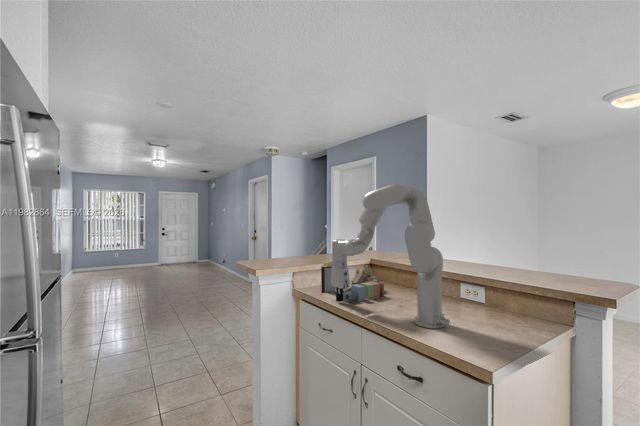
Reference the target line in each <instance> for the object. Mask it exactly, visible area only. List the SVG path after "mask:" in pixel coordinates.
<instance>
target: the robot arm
mask: <svg viewBox="0 0 640 426" xmlns="http://www.w3.org/2000/svg"><path fill="white" fill-rule="evenodd" d="M394 205H407V206H408V217H409V221H410V223H409V224H408V225H407V226H406V228H405V229H404V230H405V231H404V240H405V244H406V245H405V246H406V250H407V255H408V258H409V259H408V260H409V263H410V265H411V267H412V268H413V270H415V272H417V278H416V279H417V281H416V284H417V286H416V289H417V290H416V292H417V293H416V296H417V297H416V300H417V301H416V302H417V303H416V304H417V305H416V306H417V311H416V312H417V314H416V315H417V316H416V315H415V317H414V318H413V323H414V324H415V325H417V326H419V327H422V328H426V329H442V328H445V327H449V326H450V323H451V319H449V318H446V317H445V313H443V309H442V308H443V303H442V302H443V299H442V297H443V295H442V294H443V293H442V292H443V291H442V289H443V285H442V284H443V282H442V281H443V268H444V266H443V265H444V257H443V254H442V252H441V250H440V249H438V248H436V247H434V246H432V243H431V242H432V241H433V240H434V239H435V236H436V231H435V228H434V223H433V218H432V215H431V211H430V207H429V202H428V198H427V197H426V195H425V193H424V192H423V190H421V189H419V188H418V187H415V186H411V185H408V184H402V183H392V184H389V185H386V186H383V187H379V188H377V189H374V190H371V191H369V192H367V193H366V194H365V195H364V196H363V199H362V206H363V208H364V209H363V211H362V212H361V214H360V216H359V218H358V221H359V224H360V225H361V226H360V227H361V228H360V231H359V233H358V235H357V237H356V238H355V239H348V240H346V239H343V238H342V239H341V238H337V239H336V238H335V239H332V241H331V262H332V269H331V285H332V287H333V288H334V289H335V292H334V293H336V294H335V302H338V303H340V302H343V293H344V292H347V291H348V289H349V288H350V287H351V284H350V281H351V280H350V272H349V268H348V257H352V256H357V255H361V254H362V253H363V254H364V252H366V250H367V249H368V247H369V245H370V244H371V243H372V241H373V239H374V235H375V231H376V230H375V229H376V226H377V225H378V223H379V221H380V220H381V218H382V216H383V215H384V213H385V211H386V210H387V208H388V207H391V206H394Z"/></svg>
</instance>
